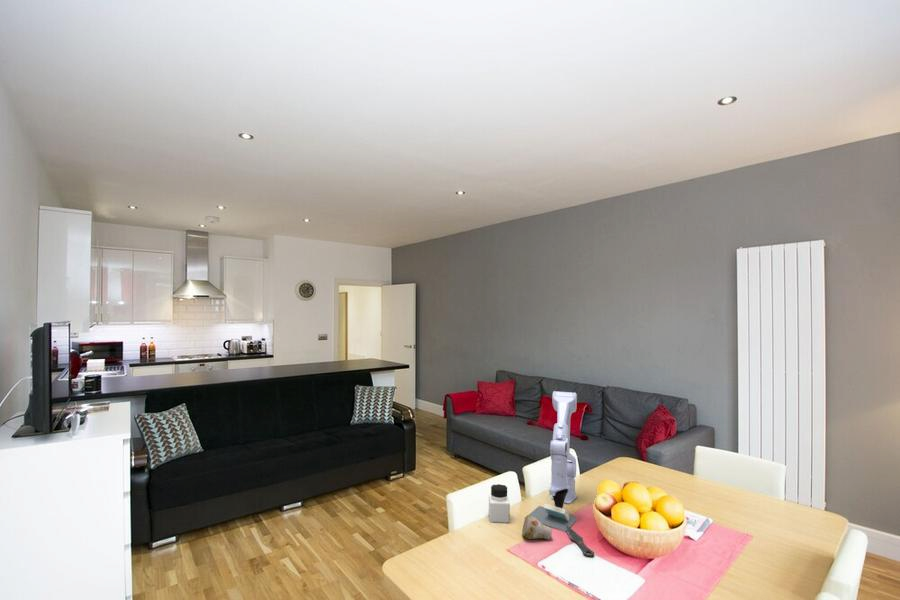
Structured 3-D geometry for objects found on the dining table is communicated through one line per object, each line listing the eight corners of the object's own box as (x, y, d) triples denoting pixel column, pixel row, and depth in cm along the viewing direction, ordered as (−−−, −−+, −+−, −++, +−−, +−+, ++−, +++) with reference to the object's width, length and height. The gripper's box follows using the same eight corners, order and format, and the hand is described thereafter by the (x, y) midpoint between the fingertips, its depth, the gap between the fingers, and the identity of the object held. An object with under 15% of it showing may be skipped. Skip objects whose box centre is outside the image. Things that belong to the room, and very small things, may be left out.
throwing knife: (584, 557, 132) (584, 555, 132) (558, 525, 152) (559, 523, 152) (597, 556, 133) (597, 554, 133) (570, 524, 152) (570, 523, 152)
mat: (539, 506, 168) (539, 505, 168) (578, 518, 158) (578, 517, 158) (524, 518, 157) (524, 517, 157) (566, 532, 148) (566, 531, 148)
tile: (549, 510, 161) (544, 503, 158) (569, 517, 156) (565, 509, 153) (547, 515, 160) (543, 507, 157) (568, 521, 155) (564, 514, 152)
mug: (555, 545, 140) (542, 520, 139) (528, 553, 142) (515, 529, 141) (554, 528, 147) (541, 505, 146) (528, 536, 150) (516, 513, 149)
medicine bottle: (509, 522, 154) (509, 489, 154) (489, 522, 154) (490, 489, 155) (507, 513, 161) (507, 482, 162) (488, 513, 161) (489, 481, 162)
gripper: (562, 480, 151) (562, 519, 150) (576, 469, 163) (576, 505, 162) (543, 475, 155) (543, 513, 154) (558, 465, 167) (558, 500, 166)
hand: (559, 508), depth 158 cm, fingers closed
